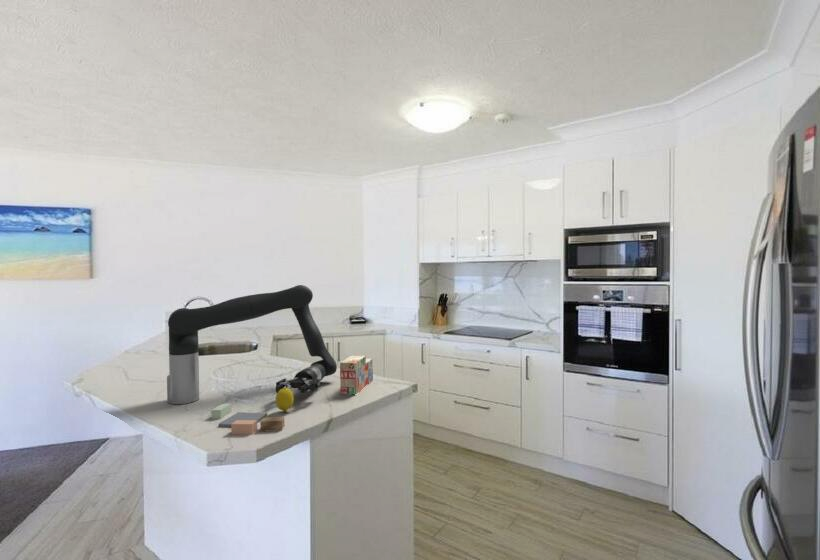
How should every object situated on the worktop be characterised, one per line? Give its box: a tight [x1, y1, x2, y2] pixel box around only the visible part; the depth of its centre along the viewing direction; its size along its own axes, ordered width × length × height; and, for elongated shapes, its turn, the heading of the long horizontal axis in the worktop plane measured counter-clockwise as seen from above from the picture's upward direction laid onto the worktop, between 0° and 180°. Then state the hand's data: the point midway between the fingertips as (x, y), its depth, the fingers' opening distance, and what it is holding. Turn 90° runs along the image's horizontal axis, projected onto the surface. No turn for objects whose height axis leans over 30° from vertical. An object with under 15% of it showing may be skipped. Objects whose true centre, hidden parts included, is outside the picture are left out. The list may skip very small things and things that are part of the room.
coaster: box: [218, 411, 268, 428], centre depth 120 cm, size 10×10×1 cm
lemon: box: [275, 387, 295, 413], centre depth 127 cm, size 6×6×8 cm
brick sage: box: [211, 403, 232, 420], centre depth 125 cm, size 6×3×3 cm, turn 175°
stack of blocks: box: [339, 355, 374, 395], centre depth 155 cm, size 21×6×12 cm, turn 168°
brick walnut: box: [259, 416, 286, 432], centre depth 113 cm, size 6×3×3 cm, turn 96°
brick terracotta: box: [230, 420, 258, 435], centre depth 111 cm, size 6×3×3 cm, turn 86°
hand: (289, 390), depth 131 cm, fingers open, 8 cm apart
